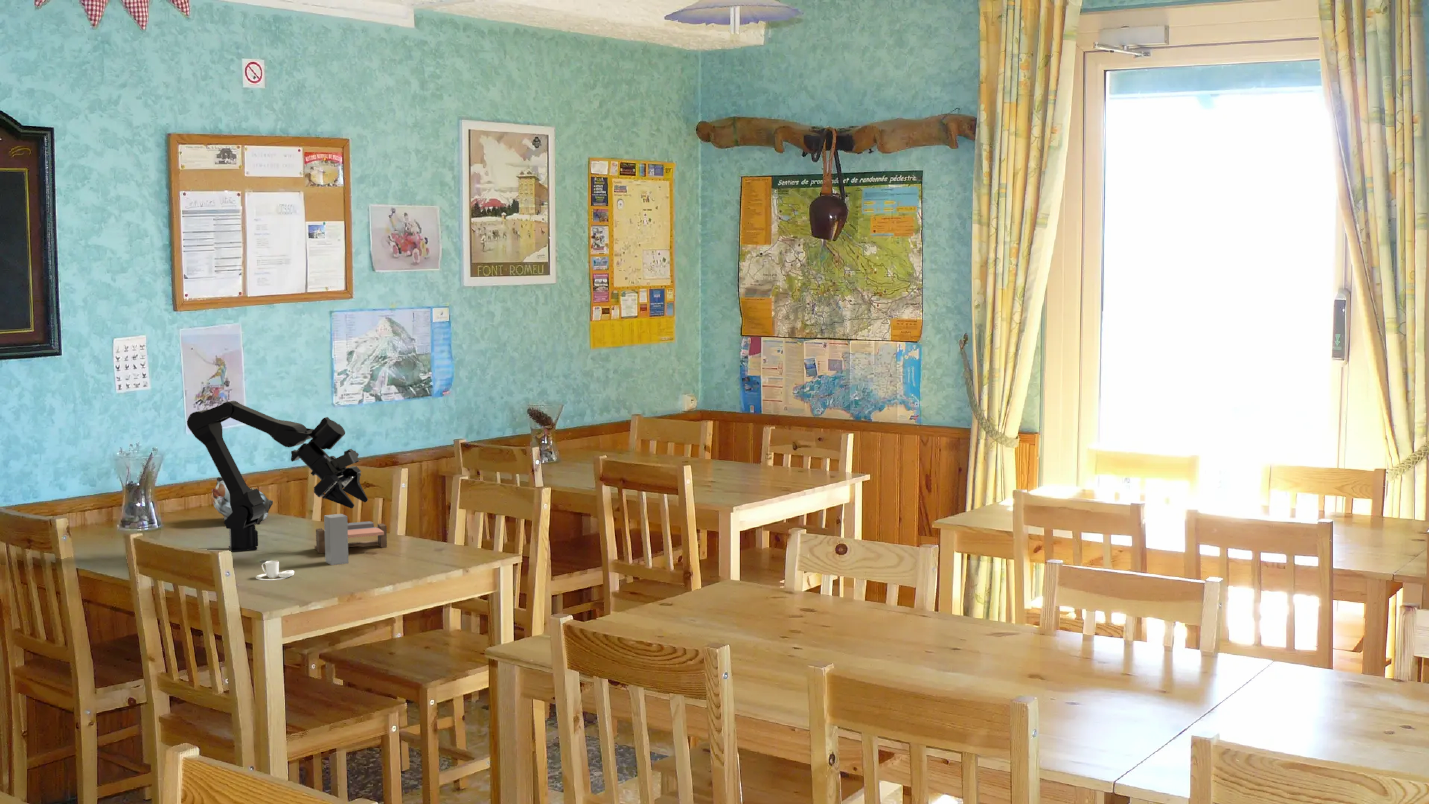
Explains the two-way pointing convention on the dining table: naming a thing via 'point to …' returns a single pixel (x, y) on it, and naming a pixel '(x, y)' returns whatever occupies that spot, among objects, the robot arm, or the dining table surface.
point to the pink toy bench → (381, 542)
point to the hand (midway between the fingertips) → (360, 504)
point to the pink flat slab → (363, 529)
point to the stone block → (336, 539)
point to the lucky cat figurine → (223, 500)
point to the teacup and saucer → (274, 571)
